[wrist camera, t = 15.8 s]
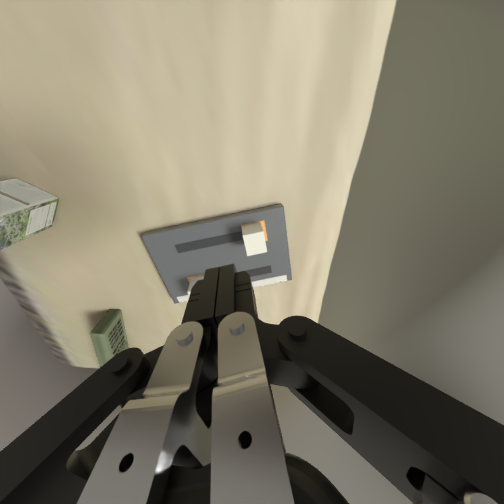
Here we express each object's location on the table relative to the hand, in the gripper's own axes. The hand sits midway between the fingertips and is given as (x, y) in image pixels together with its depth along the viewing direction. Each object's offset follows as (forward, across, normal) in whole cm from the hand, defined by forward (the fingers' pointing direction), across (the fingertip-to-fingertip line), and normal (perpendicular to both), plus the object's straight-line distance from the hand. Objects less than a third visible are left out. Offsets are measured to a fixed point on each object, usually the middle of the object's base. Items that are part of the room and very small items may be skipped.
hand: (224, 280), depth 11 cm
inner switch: (+23, -2, +8) cm, 24 cm away
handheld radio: (+25, +34, +31) cm, 52 cm away
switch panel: (+25, +4, +12) cm, 28 cm away
